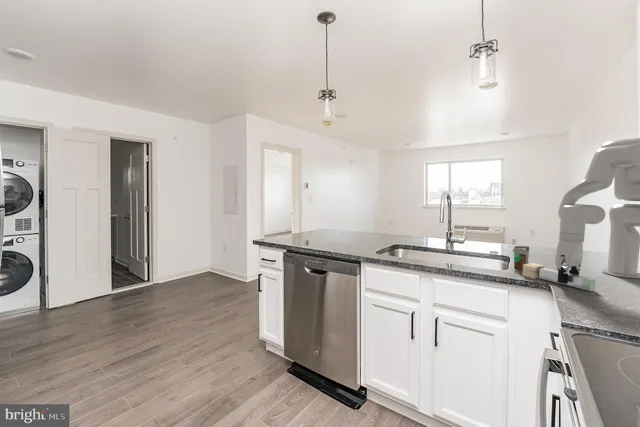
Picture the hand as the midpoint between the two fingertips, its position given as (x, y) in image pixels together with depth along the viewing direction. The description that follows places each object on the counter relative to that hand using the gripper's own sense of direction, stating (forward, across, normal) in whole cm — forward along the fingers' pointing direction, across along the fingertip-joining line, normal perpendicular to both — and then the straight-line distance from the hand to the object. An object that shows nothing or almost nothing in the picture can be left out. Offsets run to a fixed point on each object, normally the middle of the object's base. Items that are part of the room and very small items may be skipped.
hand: (567, 281), depth 120 cm
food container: (+2, -9, -24) cm, 26 cm away
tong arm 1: (+1, +1, -1) cm, 2 cm away
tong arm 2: (+1, -1, -1) cm, 2 cm away
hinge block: (+2, 0, -13) cm, 13 cm away
